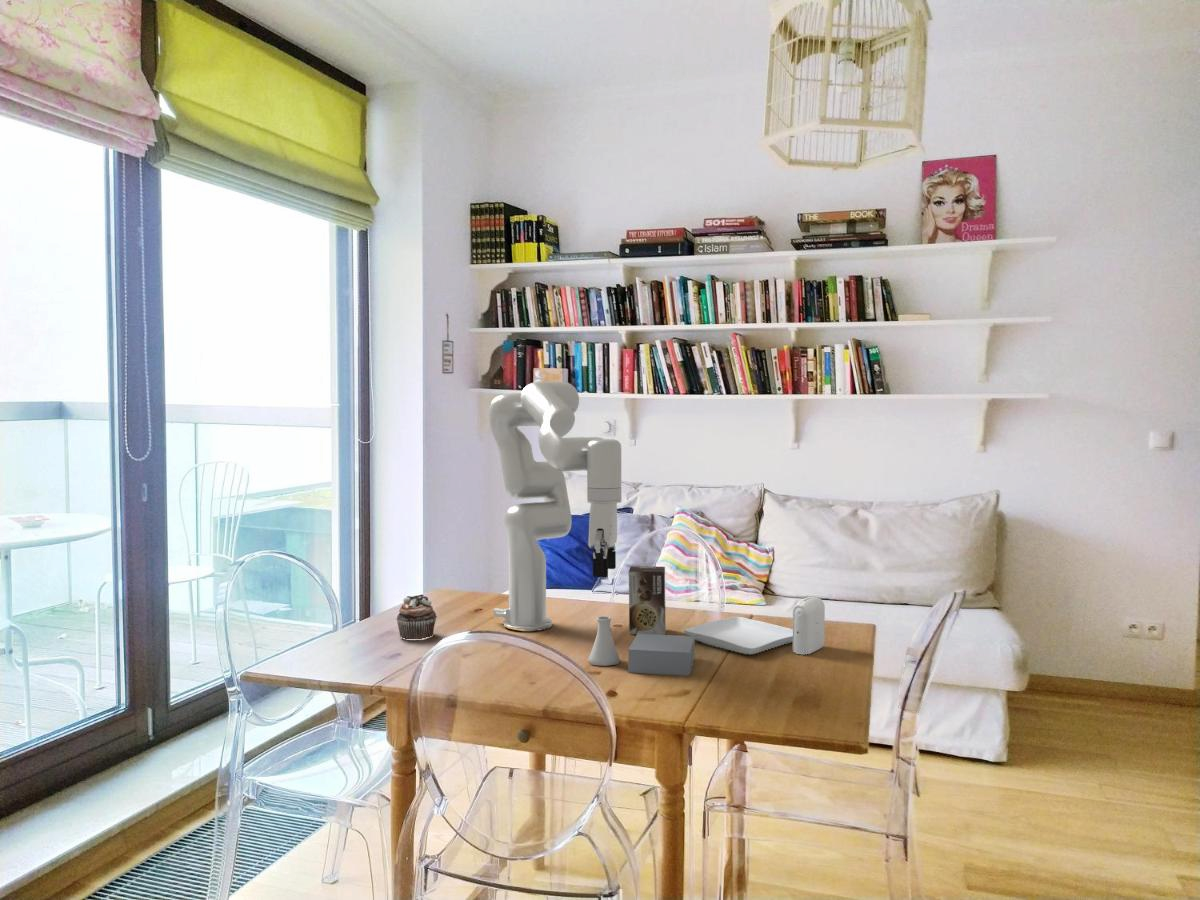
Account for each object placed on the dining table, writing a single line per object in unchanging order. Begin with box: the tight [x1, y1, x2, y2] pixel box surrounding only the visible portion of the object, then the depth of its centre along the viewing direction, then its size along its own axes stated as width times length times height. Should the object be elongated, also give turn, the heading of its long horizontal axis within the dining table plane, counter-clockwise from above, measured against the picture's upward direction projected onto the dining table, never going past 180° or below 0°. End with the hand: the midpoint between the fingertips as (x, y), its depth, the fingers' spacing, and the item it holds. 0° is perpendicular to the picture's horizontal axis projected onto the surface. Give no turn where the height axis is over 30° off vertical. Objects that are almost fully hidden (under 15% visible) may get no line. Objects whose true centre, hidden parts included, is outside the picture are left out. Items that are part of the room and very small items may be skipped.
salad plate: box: [683, 615, 793, 656], centre depth 213 cm, size 21×21×3 cm
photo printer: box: [792, 596, 826, 656], centre depth 206 cm, size 10×4×12 cm, turn 141°
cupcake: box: [396, 594, 437, 639], centre depth 217 cm, size 10×10×10 cm
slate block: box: [627, 634, 696, 677], centre depth 194 cm, size 13×13×5 cm
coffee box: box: [628, 565, 667, 635], centre depth 222 cm, size 9×6×16 cm
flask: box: [587, 615, 621, 667], centre depth 196 cm, size 7×7×10 cm
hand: (604, 572), depth 196 cm, fingers open, 9 cm apart
